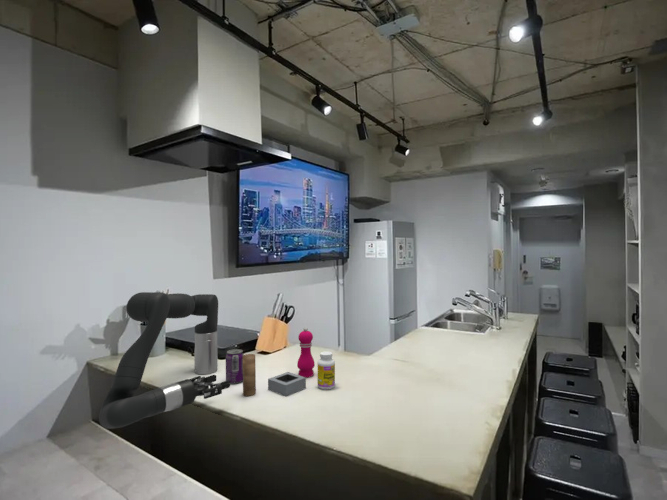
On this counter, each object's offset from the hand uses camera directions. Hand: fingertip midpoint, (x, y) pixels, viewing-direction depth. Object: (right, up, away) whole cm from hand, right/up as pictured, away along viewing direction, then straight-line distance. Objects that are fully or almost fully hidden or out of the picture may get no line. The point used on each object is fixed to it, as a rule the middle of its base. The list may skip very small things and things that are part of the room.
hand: (222, 380), depth 124 cm
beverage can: (-1, -8, +21) cm, 23 cm away
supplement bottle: (+35, -8, +15) cm, 39 cm away
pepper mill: (+26, -8, +27) cm, 39 cm away
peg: (+7, -8, +8) cm, 14 cm away
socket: (+20, -8, +13) cm, 25 cm away
